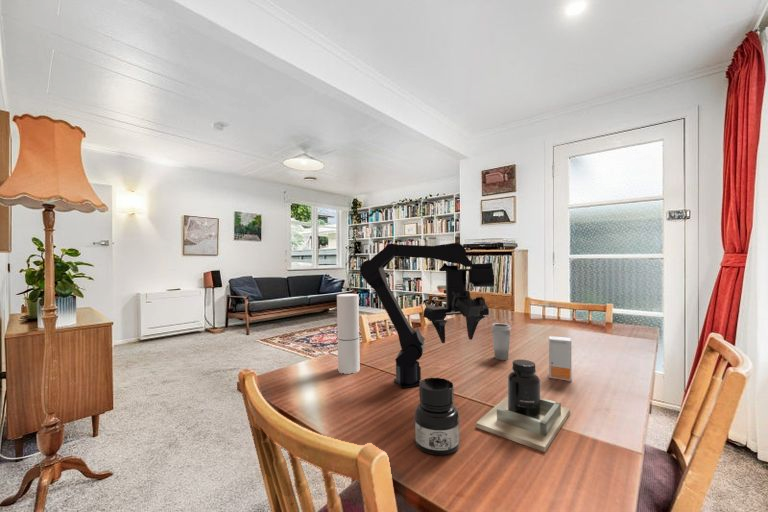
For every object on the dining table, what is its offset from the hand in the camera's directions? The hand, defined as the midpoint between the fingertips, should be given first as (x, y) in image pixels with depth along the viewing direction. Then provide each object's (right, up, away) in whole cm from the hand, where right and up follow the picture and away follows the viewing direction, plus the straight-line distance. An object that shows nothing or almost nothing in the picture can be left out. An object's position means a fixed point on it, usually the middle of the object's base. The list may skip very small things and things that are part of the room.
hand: (457, 341), depth 93 cm
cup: (+22, -13, +25) cm, 35 cm away
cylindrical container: (-33, -14, +15) cm, 38 cm away
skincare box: (+33, -13, +5) cm, 35 cm away
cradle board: (+11, -13, -19) cm, 26 cm away
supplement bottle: (+11, -12, -19) cm, 25 cm away
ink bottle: (-10, -14, -28) cm, 32 cm away
